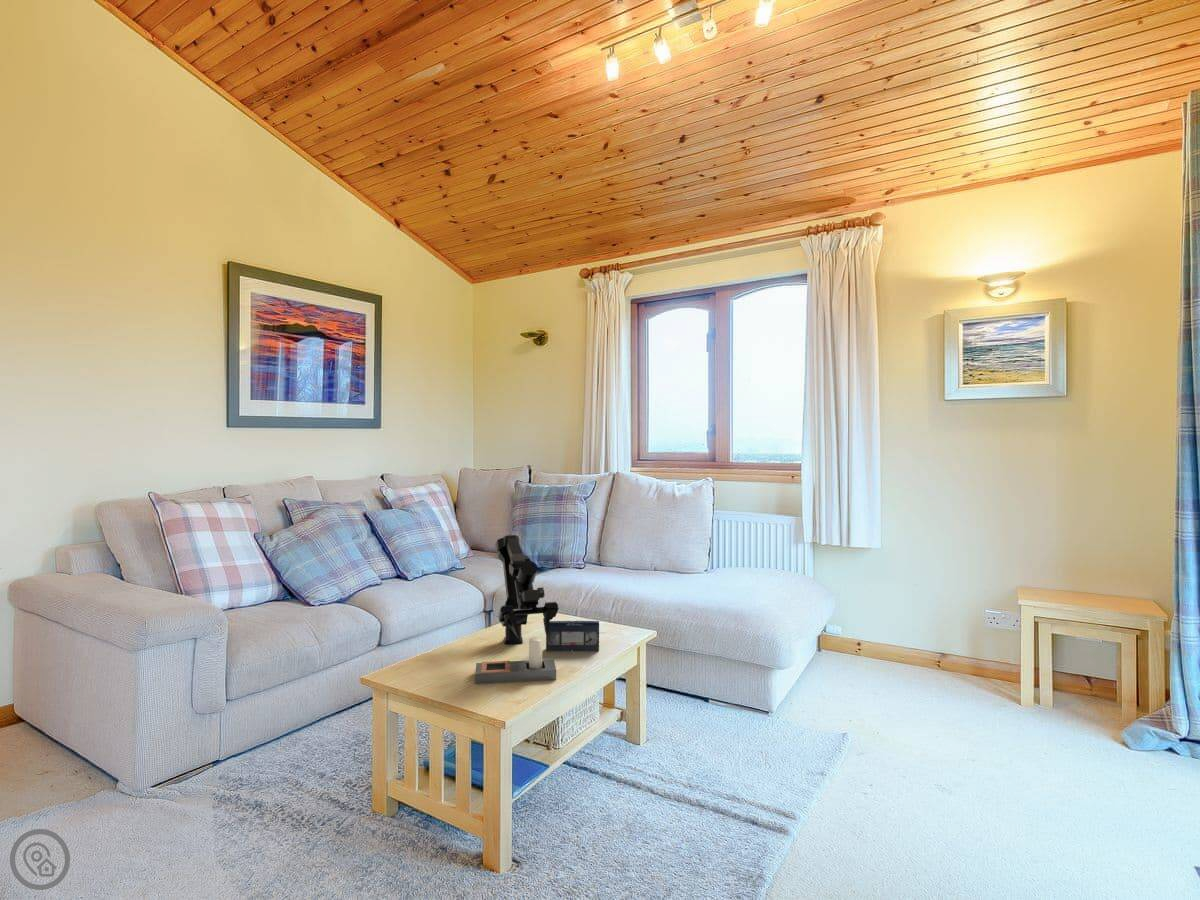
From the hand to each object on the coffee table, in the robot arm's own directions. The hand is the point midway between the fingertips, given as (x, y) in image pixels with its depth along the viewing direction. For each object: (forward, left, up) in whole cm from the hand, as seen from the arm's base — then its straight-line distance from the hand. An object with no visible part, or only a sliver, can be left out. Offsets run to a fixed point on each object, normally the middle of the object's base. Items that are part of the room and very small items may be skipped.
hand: (532, 635), depth 190 cm
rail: (+4, -5, -11) cm, 13 cm away
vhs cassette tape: (-17, +15, -11) cm, 25 cm away
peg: (+4, +1, -11) cm, 12 cm away
